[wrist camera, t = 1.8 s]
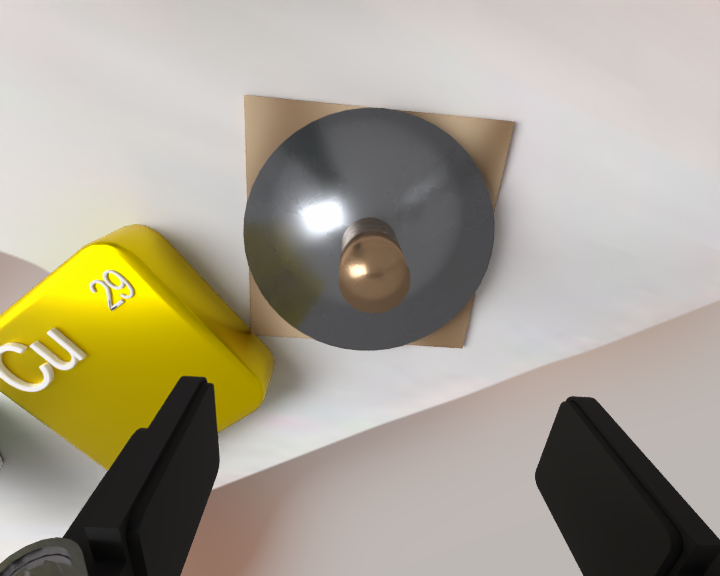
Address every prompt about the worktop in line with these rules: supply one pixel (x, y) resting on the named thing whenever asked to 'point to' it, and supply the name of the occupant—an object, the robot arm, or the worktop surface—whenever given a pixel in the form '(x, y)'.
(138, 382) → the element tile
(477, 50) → the worktop surface
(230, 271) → the worktop surface
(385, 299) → the lid
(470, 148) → the mat
